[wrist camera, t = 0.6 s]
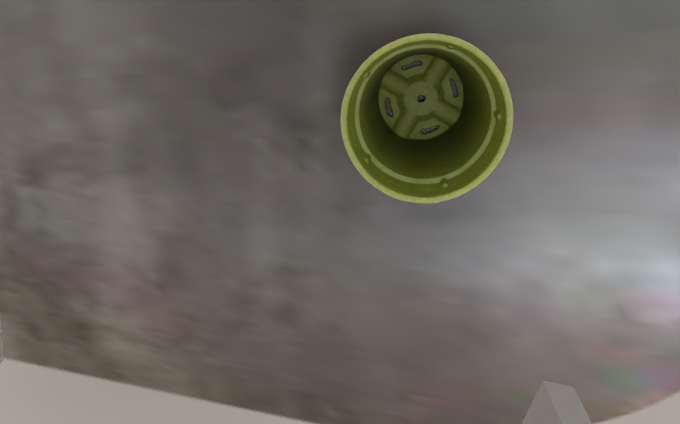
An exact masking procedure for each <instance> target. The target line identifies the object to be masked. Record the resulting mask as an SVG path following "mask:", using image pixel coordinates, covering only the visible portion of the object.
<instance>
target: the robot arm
mask: <svg viewBox="0 0 680 424" xmlns="http://www.w3.org/2000/svg"><path fill="white" fill-rule="evenodd" d="M2 360H3V349H2V335H1V321H0V363H1V361H2ZM522 424H592V423H591V421H590V419H589V417H588V415H587V413H586V411H585V409H584V407H583V405H582V403H581V401H580V399H579V397H578V395H577V393H576V391H575V389H574V387H571V386H566V385H561V384H556V383H551V382H547V381H543V382H542V384H541V386H540V388H539V390H538V392H537V394H536V396H535V398H534V400H533V402H532V404H531V406H530V408H529V410H528V412H527V414H526V416H525V418H524V420H523V422H522Z"/></svg>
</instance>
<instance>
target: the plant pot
mask: <svg viewBox="0 0 680 424" xmlns="http://www.w3.org/2000/svg"><path fill="white" fill-rule="evenodd" d="M413 61H421V62H422V65H421V66H415V67H412V68H409V69H407V70H403V66H404V65H408V64H410V63H412V62H413ZM450 79H453V80H454V82H455V84H456V86H457V90H458V95H457V97H456V98H454V97H453V92H452V87H451V84H450V83H451V82H450ZM421 95H423V96H424V97H425V100H424V101H423V102H418V100H417V99H418V96H421ZM386 98H389V100H390V106H391V110H392V112H393V114H394V115H393V117H391V116H389V115H388V114H387V110H386V107H385V100H386ZM340 123H341V132H342V138H343V142H344V145H345V148H346V150H347V153H348V155H349V157H350V159H351V161H352V163H353V164H354V166H355V167H356V169H357V170H358V171H359V172H360V174H361V175H362V176H363V177H364V178H365V179H366V180H367V181H368V182H369V183H370V184H371V185H373V186H374V187H375V188H377V189H378V190H380V191H382V192H383V193H385V194H387V195H388V196H391V197H394V198H396V199H399V200H402V201H406V202H413V203H437V202H441V201H446V200H449V199H452V198H456V197H458V196H460V195H463V194H465V193H466V192H468V191H470V190H471V189H473V188H474V187H476V186H477V185H479V184H480V183H481V182H482V181H484V179H486V178H487V177H488V176H489V175H490V174H491V172H492V171H493V170H494V169H495V167H496V166H497V165H498V163H499V162H500V160H501V158H502V157H503V155H504V153H505V151H506V149H507V147H508V144H509V141H510V138H511V133H512V128H513V104H512V98H511V94H510V91H509V88H508V85H507V83H506V81H505V79H504V77H503V75H502V73H501V72H500V70H499V69H498V67H497V66H496V65H495V64H494V62H493V61H492V60H491V59H490V58H489V57H488V56H487V55H486V54H485V53H484V52H482V51H481V50H480V49H478V48H477V47H475V46H474V45H472V44H470V43H468V42H466V41H464V40H462V39H459V38H456V37H453V36H449V35H444V34H436V33H424V34H415V35H410V36H406V37H403V38H400V39H397V40H395V41H393V42H390V43H388V44H387V45H385V46H383V47H381V48H380V49H378V50H377V51H376V52H374V53H373V54H372V55H371V56H369V57H368V58H367V59H366V60H365V61H364V62H363V64H362V65H361V66H360V67H359V68H358V70H357V71H356V73H355V74H354V76H353V77H352V79H351V81H350V83H349V85H348V87H347V89H346V92H345V95H344V98H343V102H342V108H341V118H340ZM436 125H439V127H438V129H437V130H435V131H433V132H430V133H425V134H424V133H421V130H422V129H427V128H431V127H434V126H436Z"/></svg>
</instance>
